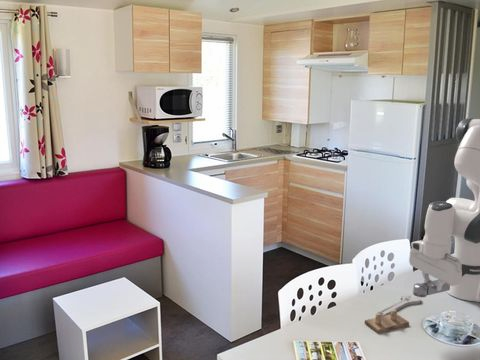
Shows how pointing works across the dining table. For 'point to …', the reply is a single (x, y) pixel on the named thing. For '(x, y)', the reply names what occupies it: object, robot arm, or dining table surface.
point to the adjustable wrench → (400, 304)
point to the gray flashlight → (428, 288)
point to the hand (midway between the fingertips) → (432, 287)
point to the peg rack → (386, 322)
